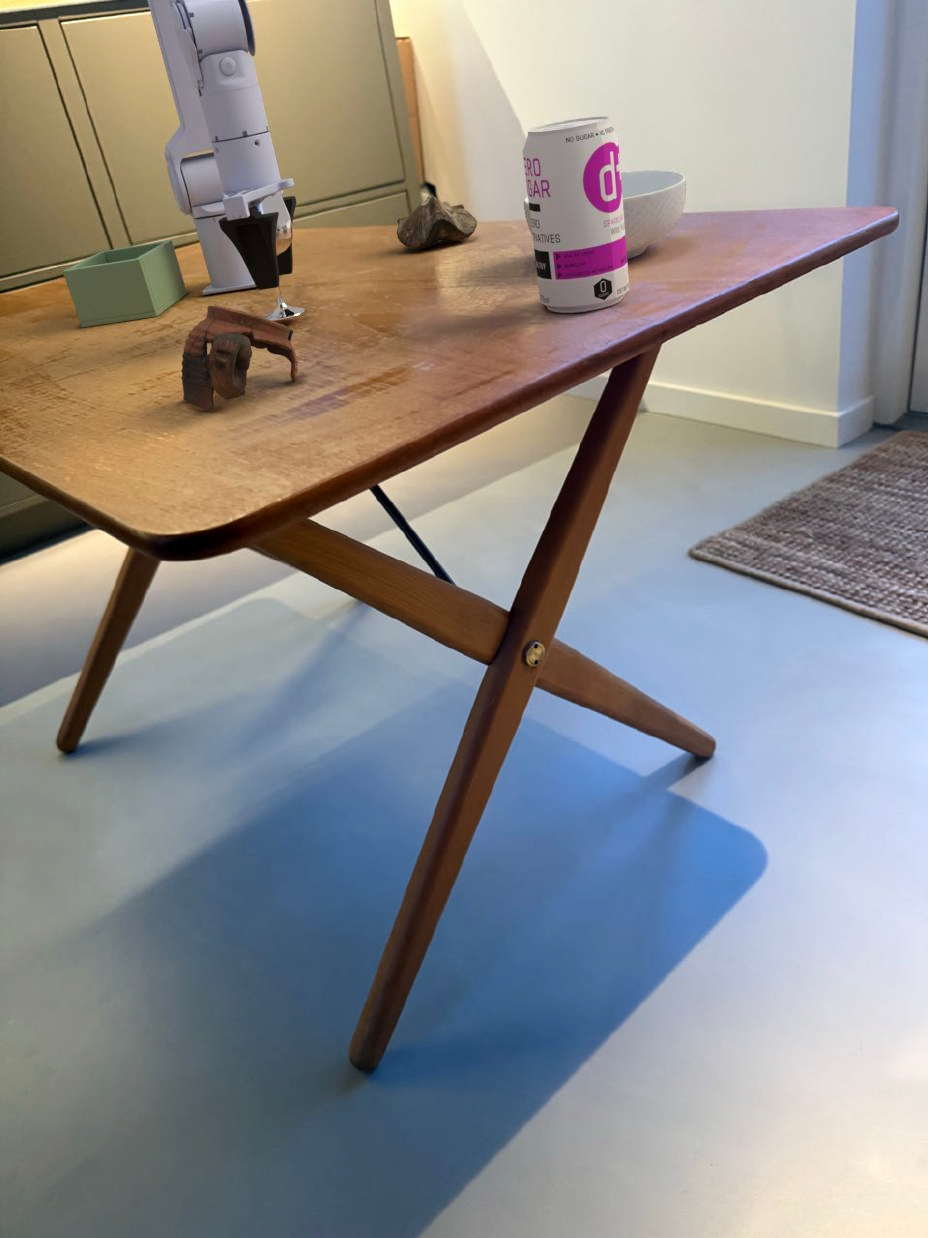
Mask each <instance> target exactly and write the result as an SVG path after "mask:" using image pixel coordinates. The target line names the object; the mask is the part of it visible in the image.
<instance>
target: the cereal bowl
mask: <svg viewBox="0 0 928 1238" xmlns="http://www.w3.org/2000/svg"><path fill="white" fill-rule="evenodd" d="M621 183H622V196H623V210H624V223H625V237H626V250H627V260H629V259H632V258H635V257H638V256H640V255H642V254H643V253H645V252H646V249H647V248H648V247H649V246H651V245H653V244H655V243H656V242H658V241H660V240H662V239H664V237H666V236H667V235H668V234H670V233H671V232H672V231H673V230H674V229H675V227H676V226H677V224H678V223H679V221H680V219H681V217H682V215H683V214H684V209H685V205H686V199H687V178H686V176H685V175H684V174H683V173H681V172H679V171H674V170H665V169H646V170H645V169H643V170H629V171H628V170H627V171H621ZM523 210H524V215H525V220H526V225H527V227H528V230H529V232H530V235H531V236H532V237H533V235H532V227H531V218H530V210H529V201H528V195H527V196H525V198H524V199H523Z"/></svg>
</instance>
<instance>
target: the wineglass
mask: <svg viewBox="0 0 928 1238" xmlns="http://www.w3.org/2000/svg"><path fill="white" fill-rule="evenodd" d="M282 197H283V196H282V195H281V194H280V192H276V193H273V194H270V195H268V196H265V197H262V201H259V202H254V203H251V204H250V205H252V204H253V206H257V209H258V212H260V211H261V214H267V213H273V212H279V216H278V221H277V228H276V253H277V257H278V256H279V255H281V254H282V253H283V252H285V251H286V250H287V249H288V247H289V246H290V244H291V242H292V243H293V236H294V232H293V230H294V229H293V223H291V219H290V216H289V213H288V210H287V207H286V205H285V202H284V200H283V198H282ZM274 290H275V293H276V296H277V306H276V308H274V309H273V310H272V311H270V312H268V313H266V314H264V315H263V316H262V317H263V318H266V319H269V320H271V321H274V322H275V321H282V320H286V319H290V318H294V317H297V316H299V315H302V314H303V313H305V311H306V309H305V307H302V306H290V305H288V304H287V303H286V302H285V300H284V298H283V295H282V291H281V287H280V285H279V286H278V287H276V288H274Z"/></svg>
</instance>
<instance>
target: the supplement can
mask: <svg viewBox="0 0 928 1238" xmlns="http://www.w3.org/2000/svg"><path fill="white" fill-rule="evenodd" d="M522 157H523V166H524V175H525V183H526V184H525V185H526V192H527V193H526V194H527V196H528V201H529V210H530V218H531V227H532V234H531V236H532V235H533V236H532V242H533V251H534V259H535V260H534V261H535V269H536V277H537V284H538V293H539V300H540V301H539V302H540V303H541V304H543V305H544V306H546V307H547V310H549V311H551V312H554V313H561V314H570V313H571V314H572V313H573V314H574V313H575V314H576V313H584V312H592V311H596V310H601V309H605V308H607V307H611V306H614V305H616V304H617V303H620V302H621V301H622V300H623V299H624V296H625V295H626V294H627V292H629V291H630V280H629V279H630V277H629V267H628V265H629V264H628V259H627V250H626V237H625V223H624V210H623V196H622V183H621V172H622V171H621V169H622V168H621V159H620V143H619V135H618V134H617V132H616V130H615V129H614V127H613V125H612V124H611V122H610V117H609V116H604V115H603V116H601V115H600V116H590V117H582V118H575V119H568V120H562V121H557V122H552V123H548V124H543V125H539V126H536V127H532V128H530V129H528V130H527V136H526V138H525V142H524V145H523V150H522Z"/></svg>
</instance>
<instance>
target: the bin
mask: <svg viewBox="0 0 928 1238" xmlns="http://www.w3.org/2000/svg"><path fill="white" fill-rule="evenodd" d="M62 274H63V277H64V280H65V283H66V286H67V288H68V291H69V294H70V297H71V300H72V303H73V306H74V309H75V311H76V315H77V317H78V320H79V322H80V323H79V324H80V326H81V328H88V327H89V328H90V327H94V326H101V325H109V324H113V323H116V324H117V323H122V322H129V321H134V320H135V321H136V320H142V319H148V318H155V317H158V316H159V315H161V314H162V313H163V312H164V311H166V310H167V309H169V308H170V307H171V306H173V305H174V304H175V303H177V302H178V301H180V299H182V298H183V297H184V296H186V295H187V294H188V290H187V288H186V284H185V282H184V277H183V274H182V270H181V267H180V264H179V261H178V257H177V254H176V249H175V246H174V244H173V240H171V239H170V240H169V239H168V240H164V241H157V242H150V243H145V244H139V245H131V246H127V247H126V246H125V247H120V248H114V249H107V250H101V251H99V252H97V253H95V254H93V255H91V256H89V257H86V258H85V259H83V260H81V261H79V262H78V263H75V264H74V265H72V266H70V267H68V268H66V269H65V270H63V271H62Z"/></svg>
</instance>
